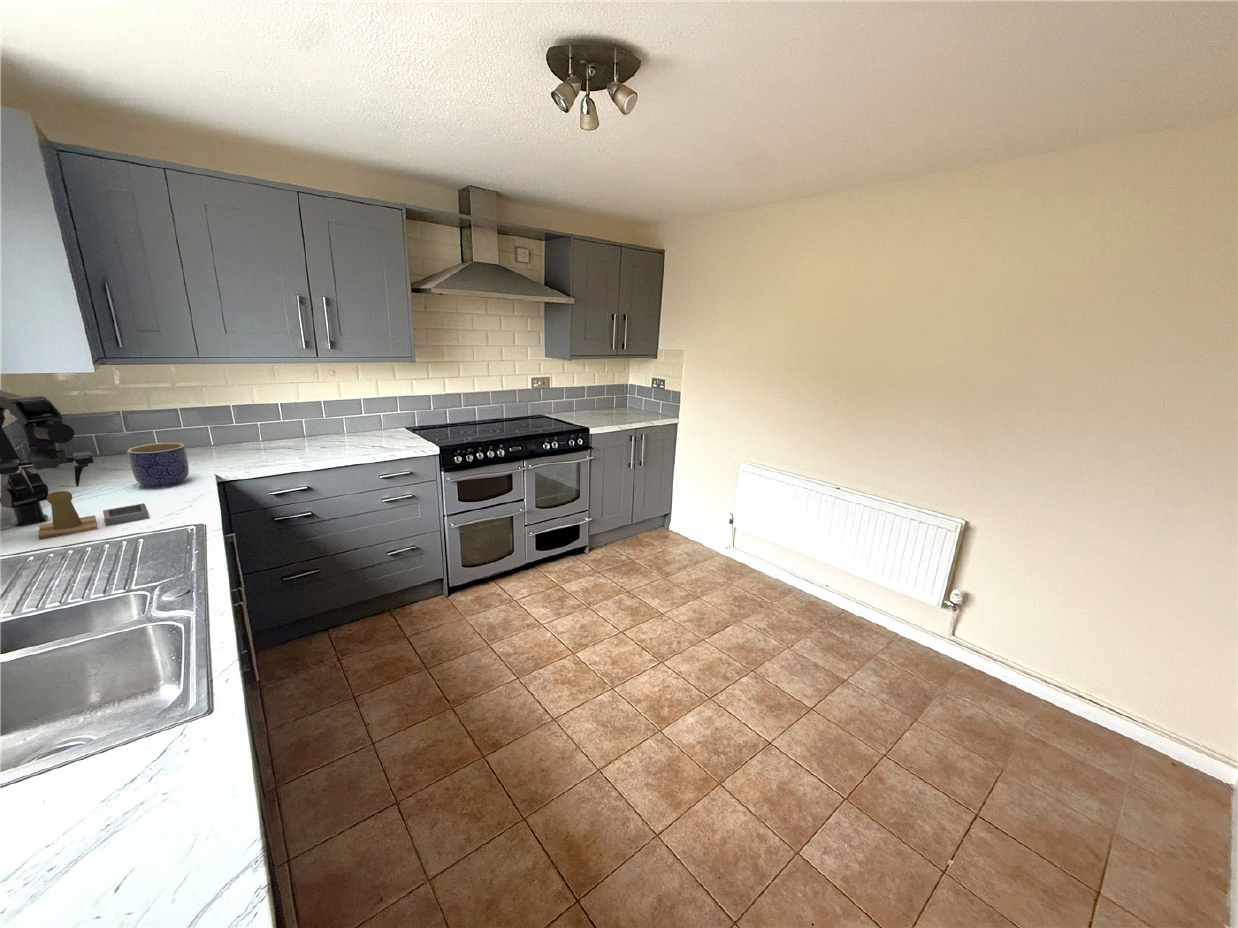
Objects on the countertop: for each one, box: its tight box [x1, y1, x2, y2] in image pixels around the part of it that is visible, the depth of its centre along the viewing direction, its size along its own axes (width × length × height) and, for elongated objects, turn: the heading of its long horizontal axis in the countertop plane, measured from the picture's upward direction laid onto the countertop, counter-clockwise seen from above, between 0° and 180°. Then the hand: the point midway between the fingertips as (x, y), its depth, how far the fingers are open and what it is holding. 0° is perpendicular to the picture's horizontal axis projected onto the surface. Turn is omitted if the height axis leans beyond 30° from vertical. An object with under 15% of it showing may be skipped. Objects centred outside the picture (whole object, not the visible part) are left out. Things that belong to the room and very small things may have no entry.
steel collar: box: [102, 502, 150, 527], centre depth 162 cm, size 10×10×2 cm
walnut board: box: [37, 514, 98, 541], centre depth 153 cm, size 12×12×1 cm
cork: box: [46, 490, 82, 529], centre depth 151 cm, size 6×6×11 cm
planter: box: [126, 442, 190, 489], centre depth 193 cm, size 16×17×15 cm
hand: (55, 489), depth 149 cm, fingers open, 9 cm apart
